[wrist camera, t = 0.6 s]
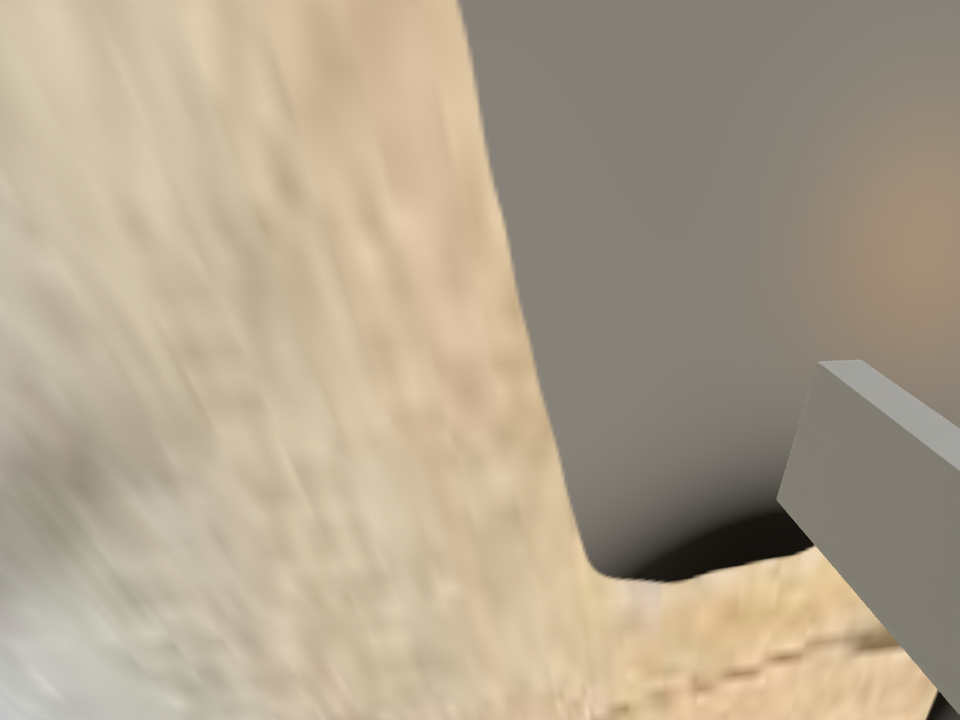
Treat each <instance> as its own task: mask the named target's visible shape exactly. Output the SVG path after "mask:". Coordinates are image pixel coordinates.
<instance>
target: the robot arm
mask: <svg viewBox="0 0 960 720" xmlns="http://www.w3.org/2000/svg"><path fill="white" fill-rule="evenodd" d="M777 501H778V502H779V503H780V504H781V506H782V507H783V508H784V509H785V510H786V511H787V512H788V514H789V515H790V516H791V517H792V518H793V520H794V521H795V522H796V523H797V524H798V526H799V527H800V528H801V529H802V530H803V531H804V533H805V534H806V535H807V536H808V537H809V538H810V540H811V541H812V542H813V543H814V544H815V546H816V547H817V548H818V549H819V550H820V551H821V553H822V554H823V555H824V556H825V557H826V558H827V560H828V561H829V562H830V563H831V564H832V566H833V567H834V568H835V569H836V570H837V571H838V573H839V574H840V575H841V576H842V577H843V578H844V580H845V581H846V582H847V583H848V584H849V586H850V587H851V588H852V589H853V590H854V591H855V593H856V594H857V595H858V596H859V597H860V598H861V600H862V601H863V602H864V603H865V604H866V606H867V607H868V608H869V609H870V610H871V611H872V613H873V614H874V615H875V616H876V617H877V618H878V620H879V621H880V622H881V623H882V624H883V626H884V627H885V628H886V629H887V630H888V631H889V633H890V634H891V635H892V636H893V637H894V638H895V640H896V641H897V642H898V643H899V644H900V645H901V647H902V648H903V649H904V650H905V651H906V653H907V654H908V655H909V656H910V657H911V658H912V660H913V661H914V662H915V663H916V664H917V665H918V667H919V668H920V669H921V670H922V671H923V673H924V674H925V675H926V676H927V677H928V678H929V680H930V681H931V682H932V683H933V684H934V685H935V687H936V688H937V689H938V690H939V691H940V692H941V694H942V695H943V696H944V697H945V698H946V699H947V701H948V702H949V703H950V704H951V705H952V706H953V708H954V709H955V710H956V711H957V713H958V714H959V715H960V429H959V428H958V427H956V426H955V425H953V424H952V423H950V422H949V421H948V420H946V419H945V418H943V417H942V416H941V415H939V414H938V413H936V412H935V411H933V410H932V409H931V408H929V407H927V406H926V405H925V404H923V403H922V402H920V401H919V400H918V399H916V398H915V397H913V396H912V395H910V394H909V393H908V392H906V391H905V390H903V389H902V388H900V387H899V386H898V385H896V384H895V383H893V382H892V381H890V380H889V379H887V378H886V377H885V376H883V375H882V374H880V373H879V372H878V371H876V370H875V369H873V368H872V367H870V366H869V365H867V364H866V363H865V362H863V361H862V360H846V361H845V360H844V361H821V362H817V365H816V369H815V372H814V375H813V378H812V382H811V385H810V389H809V392H808V395H807V399H806V402H805V405H804V409H803V412H802V416H801V419H800V422H799V426H798V429H797V433H796V436H795V439H794V443H793V446H792V449H791V453H790V456H789V460H788V463H787V466H786V469H785V473H784V476H783V479H782V483H781V486H780V489H779V493H778V496H777Z"/></svg>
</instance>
